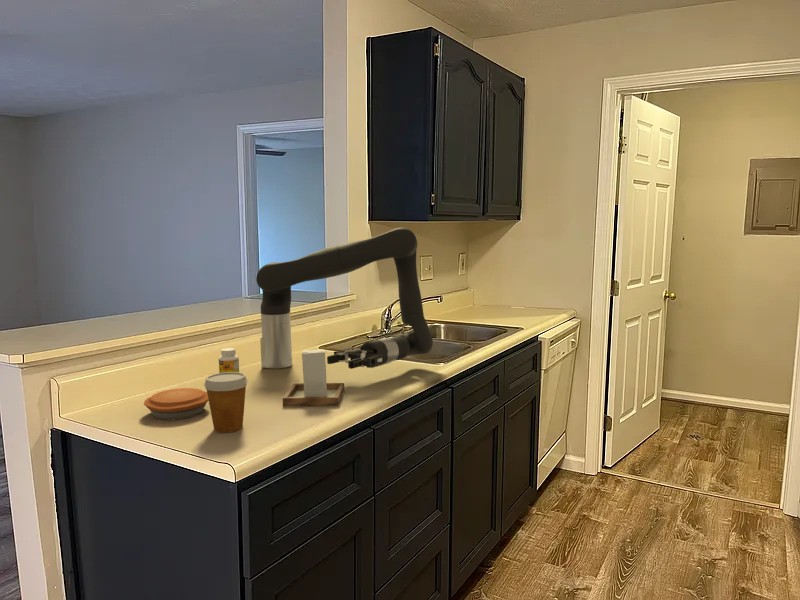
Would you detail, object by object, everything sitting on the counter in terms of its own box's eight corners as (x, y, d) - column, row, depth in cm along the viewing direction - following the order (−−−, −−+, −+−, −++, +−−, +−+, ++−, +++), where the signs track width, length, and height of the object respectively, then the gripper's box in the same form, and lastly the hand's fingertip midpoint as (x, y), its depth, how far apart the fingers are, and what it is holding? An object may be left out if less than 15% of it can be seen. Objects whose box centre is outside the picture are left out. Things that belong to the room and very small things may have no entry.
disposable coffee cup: (258, 423, 144) (255, 373, 142) (234, 437, 135) (231, 383, 133) (223, 419, 147) (220, 370, 145) (197, 433, 138) (194, 380, 136)
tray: (282, 406, 156) (282, 398, 156) (293, 391, 170) (293, 383, 170) (338, 406, 156) (337, 397, 156) (344, 390, 170) (344, 382, 169)
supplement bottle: (215, 385, 177) (213, 350, 176) (228, 380, 182) (226, 346, 181) (231, 387, 175) (229, 352, 174) (243, 382, 180) (242, 348, 179)
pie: (163, 403, 161) (161, 384, 161) (220, 403, 160) (219, 385, 159) (132, 422, 146) (130, 402, 145) (196, 423, 145) (194, 403, 144)
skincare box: (326, 392, 166) (325, 348, 164) (327, 397, 161) (326, 352, 160) (303, 394, 165) (301, 349, 163) (303, 399, 160) (301, 353, 159)
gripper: (362, 336, 185) (320, 345, 173) (397, 342, 175) (356, 352, 163) (362, 361, 186) (321, 372, 174) (398, 368, 176) (357, 380, 164)
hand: (338, 362), depth 168 cm, fingers open, 8 cm apart
